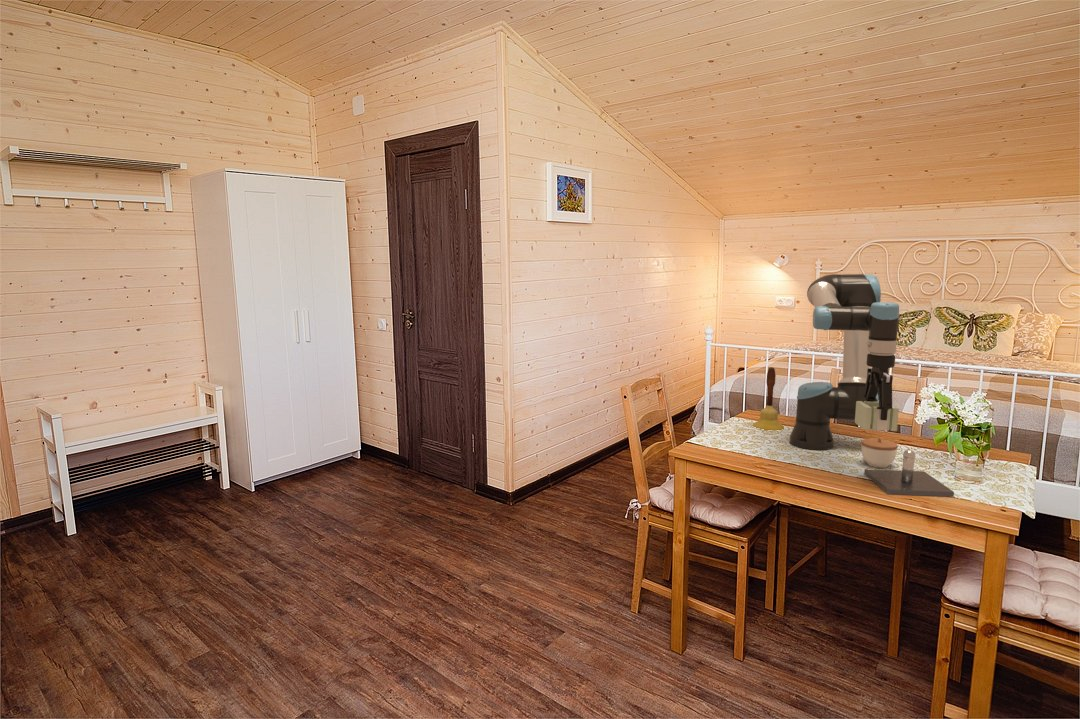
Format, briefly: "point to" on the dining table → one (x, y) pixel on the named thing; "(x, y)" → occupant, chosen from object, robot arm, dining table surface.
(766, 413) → the handbell
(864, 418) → the square link
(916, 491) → the keeper base
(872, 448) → the lidded jar
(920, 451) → the dining table surface
